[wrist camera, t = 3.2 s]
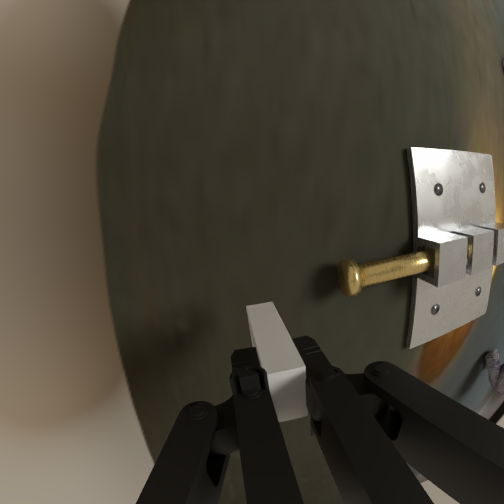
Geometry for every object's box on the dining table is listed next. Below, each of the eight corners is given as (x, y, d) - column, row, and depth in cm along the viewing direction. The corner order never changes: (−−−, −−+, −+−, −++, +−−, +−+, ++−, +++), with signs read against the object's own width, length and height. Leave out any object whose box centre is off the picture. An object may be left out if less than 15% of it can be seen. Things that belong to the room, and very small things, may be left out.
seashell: (497, 348, 28) (535, 375, 19) (479, 376, 29) (515, 406, 19) (489, 340, 27) (531, 369, 18) (470, 370, 28) (509, 404, 18)
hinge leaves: (406, 148, 20) (433, 143, 17) (486, 155, 21) (509, 154, 18) (405, 345, 25) (425, 363, 21) (481, 310, 26) (500, 321, 22)
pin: (336, 257, 21) (351, 266, 18) (464, 232, 22) (483, 236, 19) (337, 290, 22) (352, 302, 19) (463, 258, 23) (481, 264, 20)
